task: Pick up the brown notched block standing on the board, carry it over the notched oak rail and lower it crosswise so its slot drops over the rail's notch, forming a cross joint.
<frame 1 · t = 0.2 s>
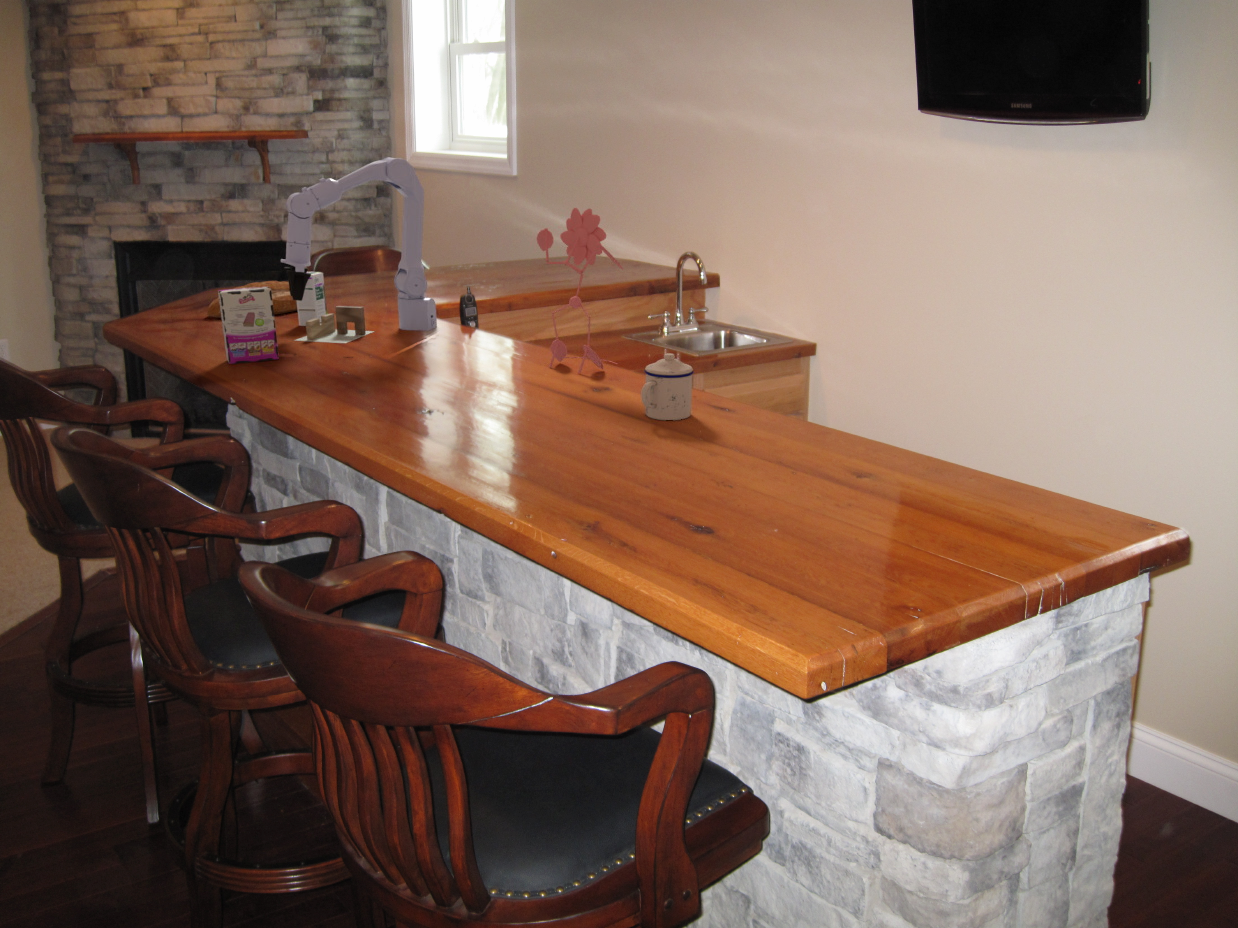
hand: (296, 298, 253), 11 cm above the worktop, tool pointing down, fingers open, 7 cm apart
syrup box: (313, 327, 274), on the worktop
board: (335, 338, 259), on the worktop
brown notched block: (351, 334, 261), point 1 cm above the worktop, touching board
figurine: (585, 366, 231), on the worktop
candy bar box: (252, 361, 235), on the worktop
teacup with lid: (663, 417, 190), on the worktop
oak rail: (321, 335, 259), resting on board
bread: (265, 313, 297), on the worktop
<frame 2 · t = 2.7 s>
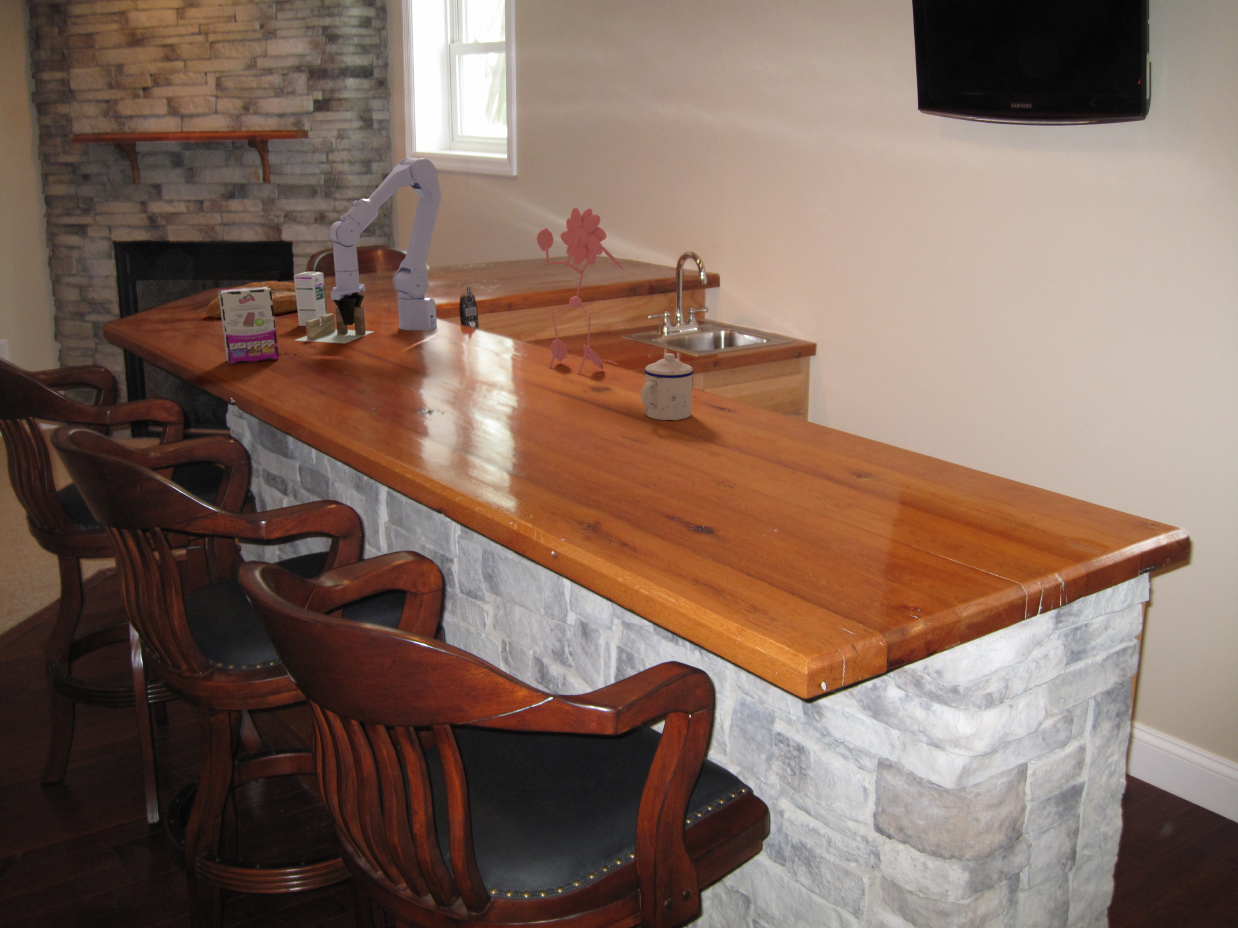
hand: (350, 324, 260), 3 cm above the worktop, tool pointing down, fingers closed on brown notched block, 2 cm apart
brown notched block: (351, 334, 261), point 1 cm above the worktop, touching board, gripper
everything else where it was.
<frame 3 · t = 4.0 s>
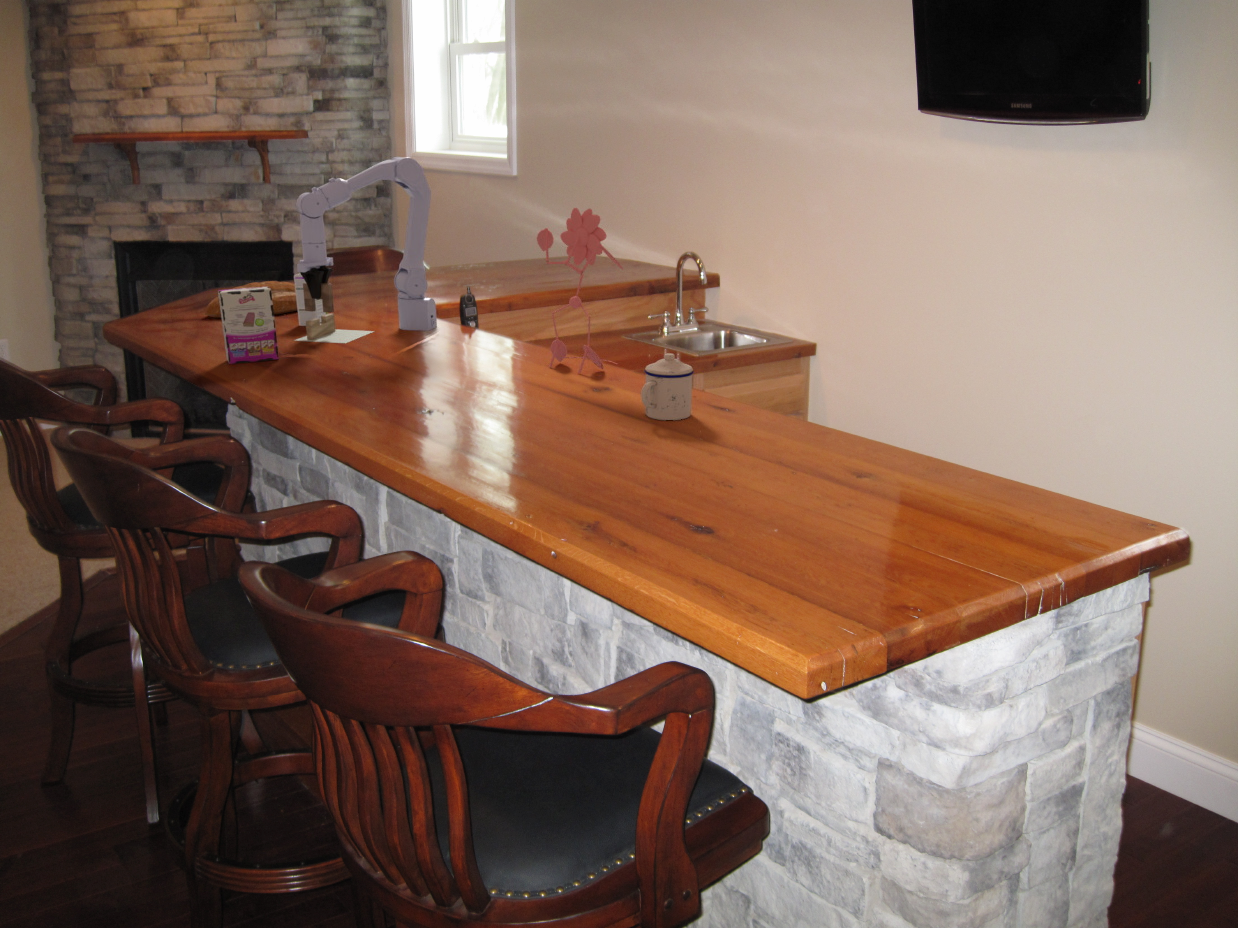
hand: (318, 297, 256), 10 cm above the worktop, tool pointing down, fingers closed on brown notched block
brown notched block: (319, 311, 257), point 7 cm above the worktop, touching gripper
everything else where it was.
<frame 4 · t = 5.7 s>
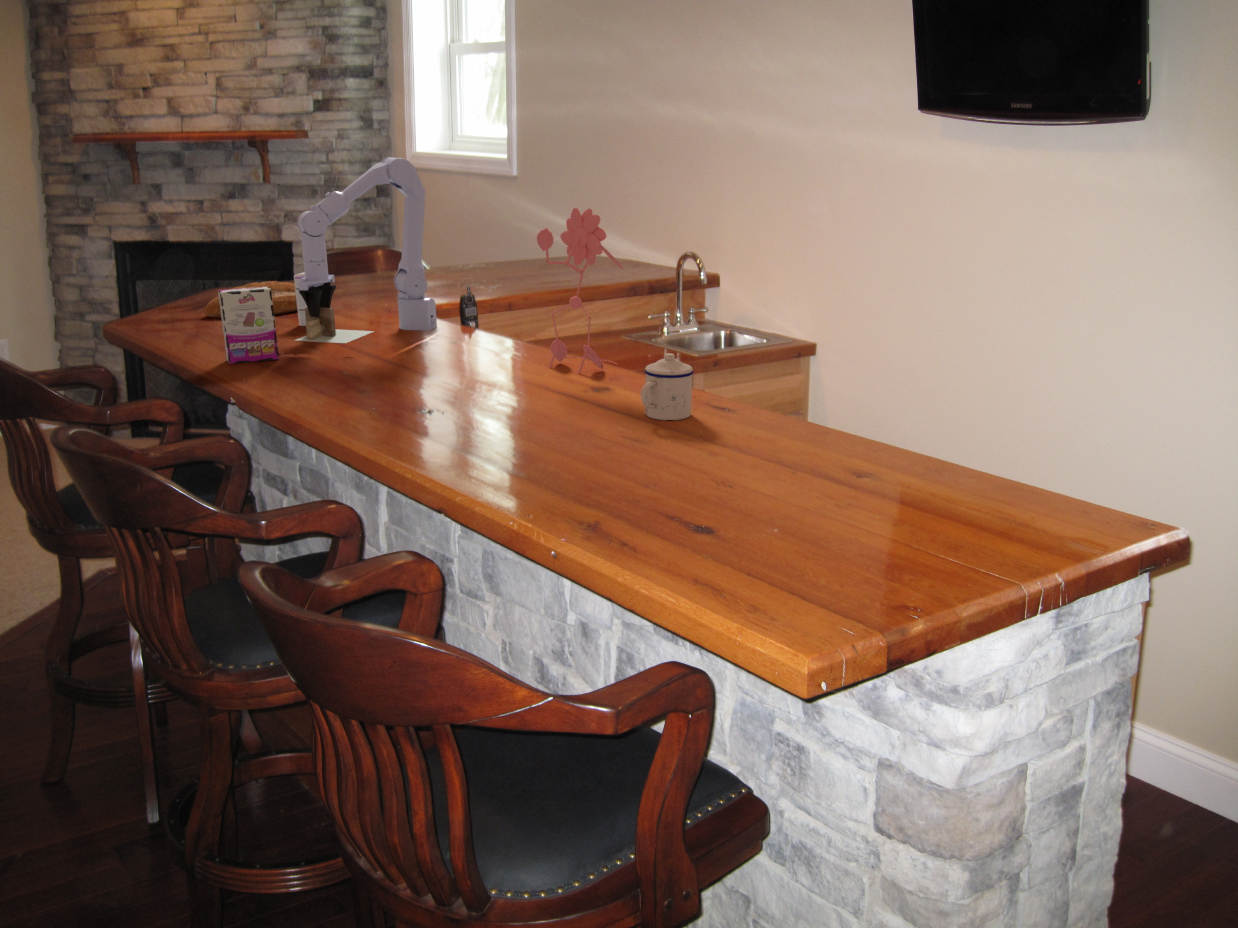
hand: (319, 315, 257), 6 cm above the worktop, tool pointing down, fingers open, 5 cm apart
brown notched block: (321, 335, 259), point 1 cm above the worktop, touching board
everything else where it was.
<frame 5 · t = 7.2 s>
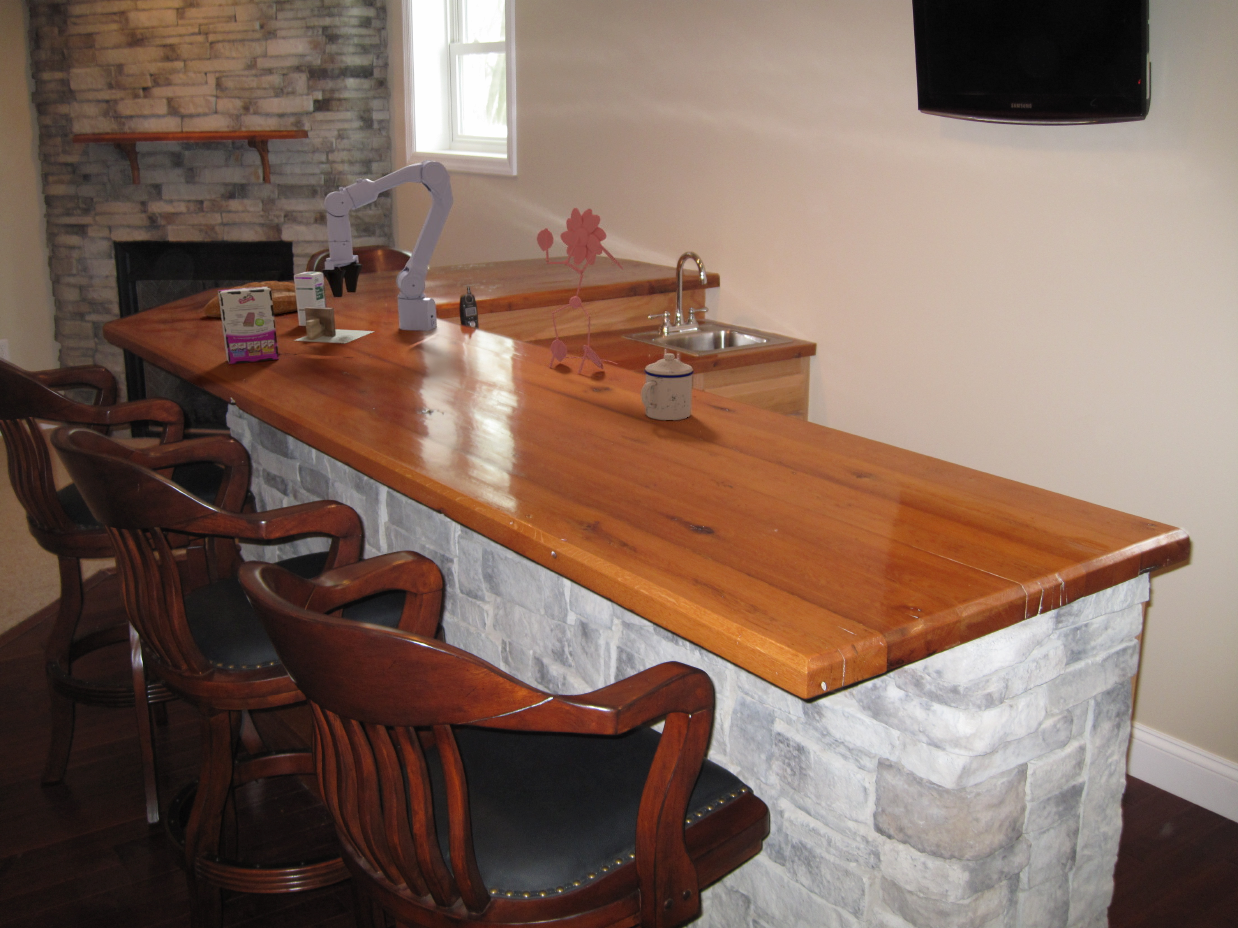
hand: (344, 294, 261), 10 cm above the worktop, tool pointing down, fingers open, 7 cm apart
nothing on the worktop moved.
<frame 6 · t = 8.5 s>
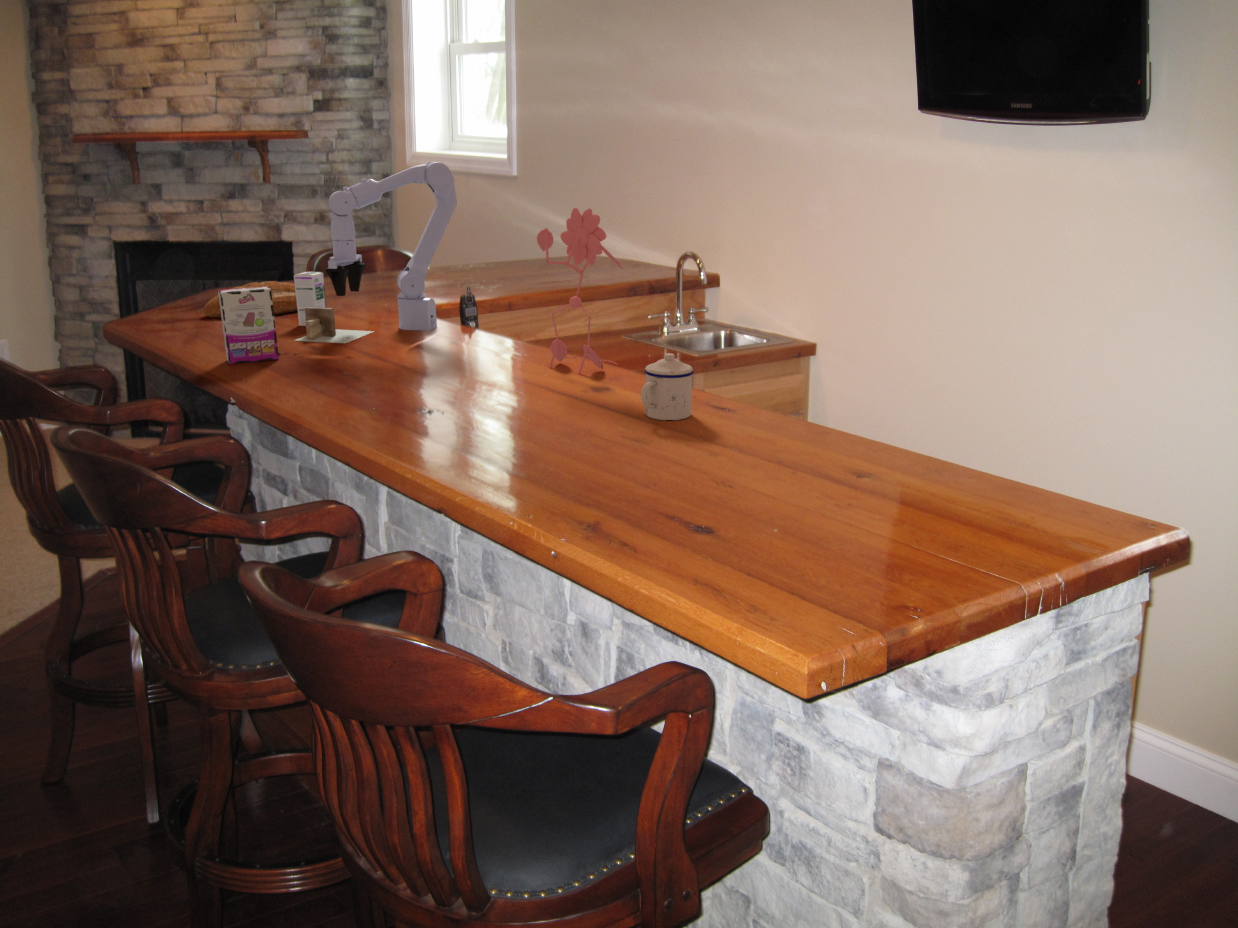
hand: (347, 293, 262), 10 cm above the worktop, tool pointing down, fingers open, 7 cm apart
nothing on the worktop moved.
at the end: brown notched block 0.0 cm off-centre on the oak rail, point 0.0 cm above the oak rail's base; brown notched block tilted 0°; the gripper is holding nothing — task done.
